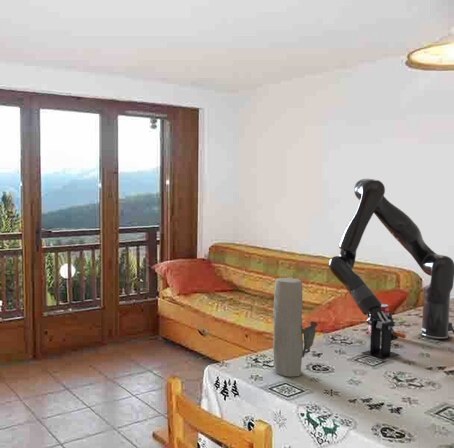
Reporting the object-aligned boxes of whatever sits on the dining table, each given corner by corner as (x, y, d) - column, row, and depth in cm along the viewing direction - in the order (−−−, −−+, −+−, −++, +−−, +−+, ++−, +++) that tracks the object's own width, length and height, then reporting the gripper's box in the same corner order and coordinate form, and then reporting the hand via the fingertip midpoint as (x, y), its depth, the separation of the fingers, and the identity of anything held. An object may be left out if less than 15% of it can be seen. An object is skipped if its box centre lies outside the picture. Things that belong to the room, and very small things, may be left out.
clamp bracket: (377, 351, 182) (379, 316, 181) (398, 357, 175) (400, 321, 174) (361, 355, 176) (362, 320, 175) (382, 362, 170) (383, 325, 169)
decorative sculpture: (316, 370, 161) (319, 279, 159) (315, 381, 152) (318, 284, 150) (272, 365, 165) (275, 276, 163) (269, 375, 156) (272, 281, 154)
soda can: (383, 334, 204) (385, 302, 203) (390, 339, 196) (391, 306, 195) (365, 333, 204) (367, 302, 203) (371, 338, 197) (373, 306, 196)
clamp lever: (386, 335, 183) (388, 329, 184) (404, 340, 178) (406, 333, 178) (369, 325, 177) (371, 319, 177) (387, 330, 171) (389, 323, 172)
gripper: (361, 296, 184) (390, 337, 175) (382, 292, 191) (412, 331, 182) (348, 307, 189) (376, 347, 179) (369, 303, 196) (397, 341, 187)
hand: (394, 339), depth 181 cm, fingers closed
